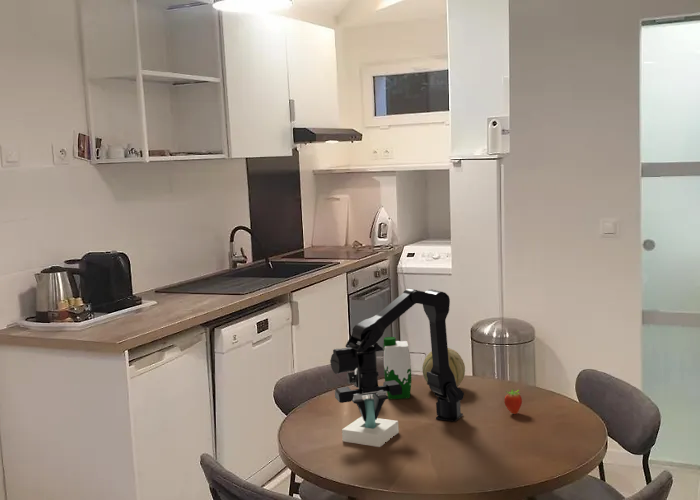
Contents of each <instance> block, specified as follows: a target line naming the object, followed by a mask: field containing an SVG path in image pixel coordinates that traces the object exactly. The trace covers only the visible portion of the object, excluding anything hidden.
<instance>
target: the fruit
mask: <svg viewBox="0 0 700 500" xmlns="http://www.w3.org/2000/svg"><path fill="white" fill-rule="evenodd" d="M510 391H511V392H510ZM510 391H507V390H505V392H506V393H507V394H506V395H505V397H504V401H503V402H504V405H505V407H506V409H507V410H508V411H509V412H510V413H511V414H514V415H516V414H517V415H518V413H519V412H520V409H521V406H522V404H523V398H522V396H521V395H520V394H521V393H519V391H520V389H517V390H514V389H511V390H510Z"/></svg>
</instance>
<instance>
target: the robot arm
mask: <svg viewBox="0 0 700 500" xmlns="http://www.w3.org/2000/svg"><path fill="white" fill-rule="evenodd" d="M450 300H451V299H450V296H449V294H448V293H446V292H444V291H440V290H437V289H432V288H431V289H428V290H426V291H422V290H417V289H413V288H406V289H405V290H403V292H402V293H401V294H400V295H399V296H397V297H396V298H395V299H394V300H392V302H390V303H388V304H387V305H386V306H385V307H384V308H383V309H382V310H381V311H379V312H378V313H377V314H375V315H374V316H372V317H368V318H366V319H363V320H362V321H360V322H358V323H356V324H355V325H354V326H353V327H352V332H351V335H350V337H349V339H348V341H347V342H346V344H345V347H344V348H334V349H332V353H331V356H330V359H329V360H330V361H329V363H330V368H331V371H332V372H333V374H335V375H337V374H342V373H343V374H344V373H346V379H347V384H353V386H354V387H356V388H357V389H356V388H355V389H351V388H350V387H349V386H343V387H337V388H336V389H335V390H334V397H335V399H336V400H337V402H338V403H340V404H343V403H350V402H353V404H355V405H356V406H357V407H358V410H359V413H360V415H361V416H362V418H363V420H364V421H366V412H365V402H364V400H363V399H362V395H368V394H373V396H374V406H375V420H377V418H378V417H379V415H380V412H381V409H382V407H383V405H384V404H385V401H386V400H389V399H388V394H387V392H389V393H390V394H391V395H400V394H402V386H401V385H400V384H399V383H397V382H396V381H395V380H393V381H386V382H385V381H383V384H382V385H379V372H378V359H377V357H378V356H377V352H381V351H384V347H382V346H380V345H379V343H378V341H379V340H380V339H381V338H382V337H383V335H384V334H385V333H384V332H385V331H386V329H387V328H389V326H390V325H391V324H393V323H394V322H395V321H397V320H398V319H399V318H400V317H401V316H403V314H405V313H406V312H407V311H408V310H410V309H412V307H413V306H414V305H416V304H419V305H422V307H423V311H424V313H425V315H426V317H427V318H428V322H429V334H430V335H429V336H430V346H431V351H432V360H433V367H432V369H431V372H427V378H428V381H427V382H426V385H428V387H429V390H431V391H432V392H433V394H434V396H435V397H437V399H436V400H437V401H436V402H435V409H436V412H435V413H436V416H435V420H441V421H446V422H448V421H449V422H457V421H458V420H459V419H461V417H463V415H464V414H463V413H462V412H461V411H462V410H461V401H462V400H463V399H464V398H465V397H464V396H465V392H464V391H463V390H461V389H460V388H459V386H458V387H457V385H456V381H455V377H454V374H453V372H452V370H451V368H450V366H449V358H448V348H449V347H448V335H447V324H446V319H447V317H448V315H449V312H450V305H451V301H450ZM358 343H359V344H358ZM356 368H357V371H356V373H357V374H356V375H355V369H356Z"/></svg>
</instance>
